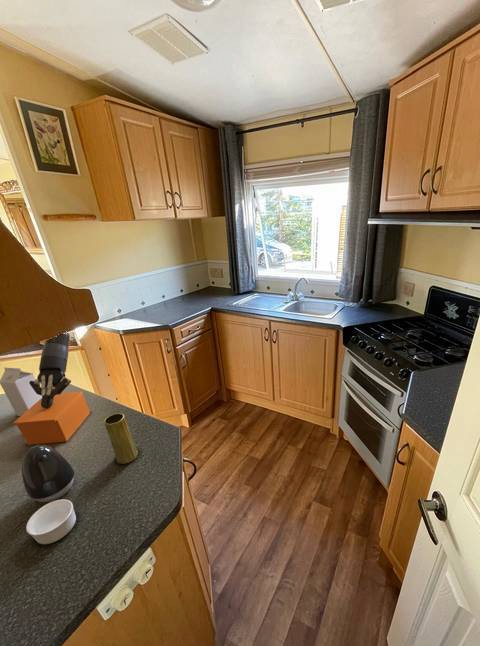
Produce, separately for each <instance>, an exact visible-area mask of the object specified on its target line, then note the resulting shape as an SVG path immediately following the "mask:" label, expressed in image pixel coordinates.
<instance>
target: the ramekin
mask: <svg viewBox="0 0 480 646" xmlns="http://www.w3.org/2000/svg"><path fill="white" fill-rule="evenodd" d="M76 521H77V515H76V513H75V509H74V504H73V502H72V501H71V500H69V499H66V498H65V499H64V498H63V499H56V500H53V501H50V502H47V504H45V505H43V506H42V507H40V508H39V509H38V510H36V511H35V512H34V513H33V514H32V515H31V516H30V517H29V519H28V520H27V523H26V526H25V531H26V532H27V534H29V536H31V537H32V538H33V539H34V540H35V541H36V543H38V544H41V545H50V544H52V543H55V542H57V541H59V540H61V539H63V538H64V537H65V536H67V534H69V532H71V531H72V529H73V528H74V526H75V524H76Z"/></svg>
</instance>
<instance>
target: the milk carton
mask: <svg viewBox="0 0 480 646" xmlns="http://www.w3.org/2000/svg"><path fill="white" fill-rule="evenodd" d="M3 369H4V372H3V374H2V375H1V378H0V386H1V388H2V390H3V392H4V394H5V395H6V398H7V399H8V400H9V404H10V405H11V407H12V409H13V411H14V413H15V414H16V417H20V416H22V415H23V414H24V413H25V412H26V411H27V410H29V409H30V408H31V407H32V406H33V405H34V404H35V403H37V402H38V401H39V400H40V399H41V398H42V396H41V395H38V394H36V392H35V391H34V389H33V388H32V387H31V385H30V384H29V382H30V381H34V380H36V379H37V378H36V377H35V375H34V373H32V372H28V371H22V369H21V368H19V367H5V366H4V367H3Z"/></svg>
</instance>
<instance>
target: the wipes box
mask: <svg viewBox="0 0 480 646" xmlns="http://www.w3.org/2000/svg"><path fill="white" fill-rule="evenodd" d="M90 414H91V412H90V409H89V407H88V404H87V402H86V399H85V397H84V394H83V393H82V394H81V395H80V396H79V397H78V398H77V399H76V400H75V402H74V403H73V404H72V405H71V406H70V407H69V408H68V409H67V410H66V411H65V412H64V413H63V414H62V415H61V416H60V417H59V418H58V419H57V420H56V422H45V423H33V424H20V425H16V427H18V430H19V431H20V433H21V436H22V437H23V439H24V441H25V443H26V444H27V445H28V446H29V445H43V444H52V443H54V444H55V443H64V442H68V441H69V440H70V438H71V437H72V436H73V435H74V434H75V433H76V432H77V430H78V429H79V427H80V426H81V425H82V424H83V423H84V422H85V420H86V419H87V418H88V416H89V415H90Z"/></svg>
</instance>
